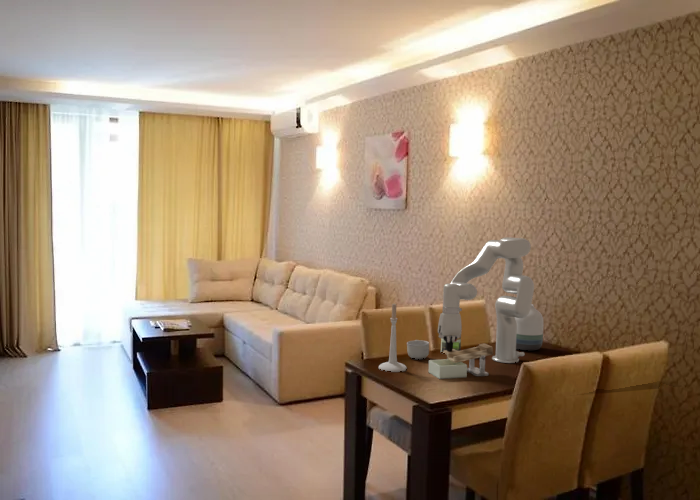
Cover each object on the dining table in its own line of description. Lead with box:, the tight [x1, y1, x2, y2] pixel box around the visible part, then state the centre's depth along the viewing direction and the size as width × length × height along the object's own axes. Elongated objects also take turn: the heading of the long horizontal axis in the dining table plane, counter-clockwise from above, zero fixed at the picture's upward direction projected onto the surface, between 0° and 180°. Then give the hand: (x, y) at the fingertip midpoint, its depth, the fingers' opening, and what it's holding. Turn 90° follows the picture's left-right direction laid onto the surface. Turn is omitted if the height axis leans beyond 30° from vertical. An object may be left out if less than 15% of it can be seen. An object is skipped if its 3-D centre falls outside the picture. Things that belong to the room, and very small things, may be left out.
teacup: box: [406, 339, 430, 360], centre depth 290 cm, size 14×11×8 cm
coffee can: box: [440, 336, 462, 353], centre depth 302 cm, size 10×10×14 cm
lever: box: [442, 343, 494, 363], centre depth 265 cm, size 19×15×4 cm
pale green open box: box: [428, 358, 468, 380], centre depth 259 cm, size 13×11×6 cm
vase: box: [515, 303, 544, 352], centre depth 314 cm, size 17×17×24 cm
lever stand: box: [467, 355, 490, 377], centre depth 263 cm, size 6×11×9 cm, turn 17°
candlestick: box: [378, 303, 408, 373], centre depth 267 cm, size 13×13×30 cm
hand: (449, 350), depth 269 cm, fingers closed
